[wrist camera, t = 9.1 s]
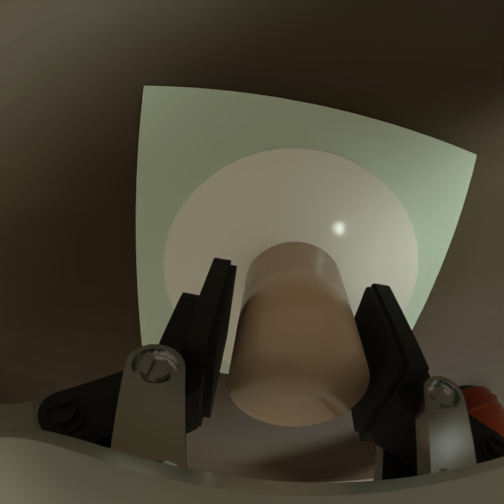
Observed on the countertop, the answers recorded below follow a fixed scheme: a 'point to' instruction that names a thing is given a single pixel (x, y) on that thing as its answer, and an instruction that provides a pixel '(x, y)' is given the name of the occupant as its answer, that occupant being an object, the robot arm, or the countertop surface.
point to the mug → (484, 407)
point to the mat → (273, 136)
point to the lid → (294, 274)
